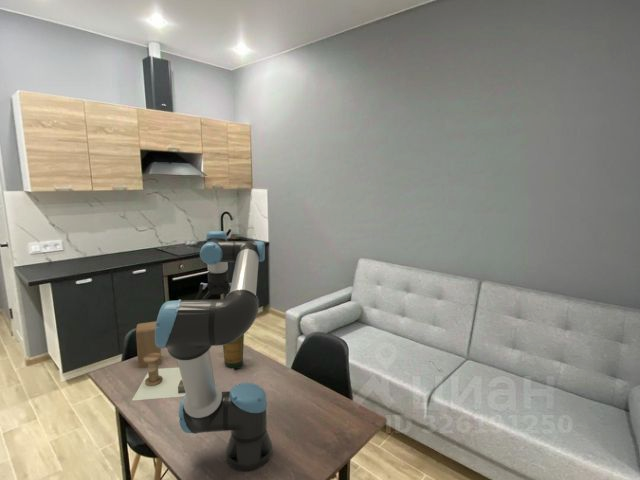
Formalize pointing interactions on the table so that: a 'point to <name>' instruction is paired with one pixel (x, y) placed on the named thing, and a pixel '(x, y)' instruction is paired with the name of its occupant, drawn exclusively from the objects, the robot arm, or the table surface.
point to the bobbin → (153, 369)
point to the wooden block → (146, 342)
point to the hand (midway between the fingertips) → (219, 322)
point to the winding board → (161, 386)
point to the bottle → (234, 353)
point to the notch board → (181, 387)
